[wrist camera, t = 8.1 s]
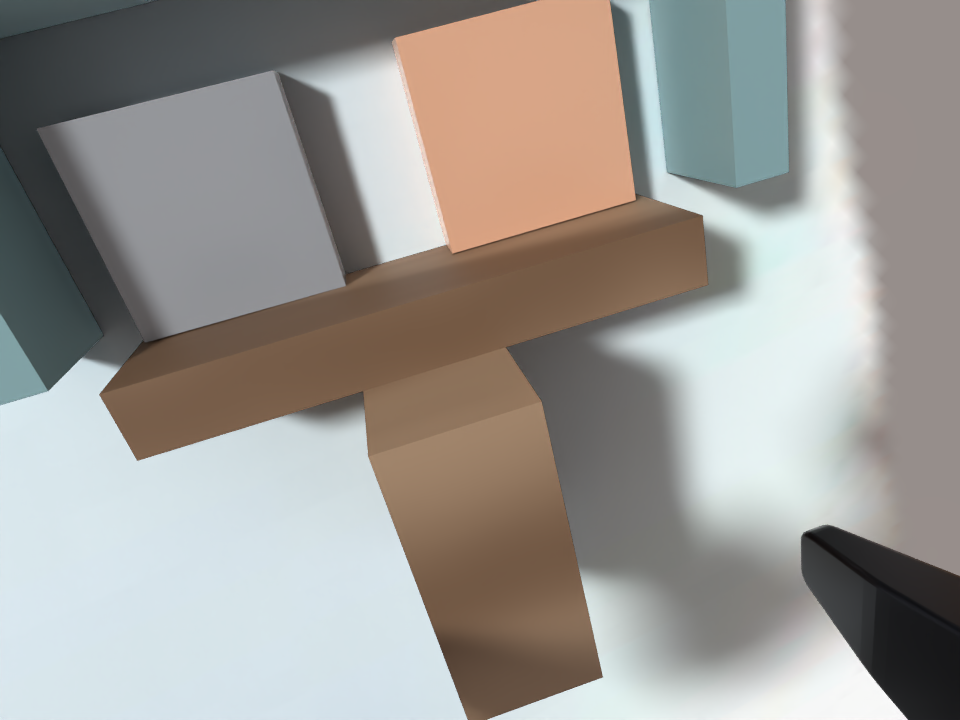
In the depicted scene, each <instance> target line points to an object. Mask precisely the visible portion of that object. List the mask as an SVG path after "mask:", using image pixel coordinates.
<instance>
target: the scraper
mask: <svg viewBox="0 0 960 720" xmlns="http://www.w3.org/2000/svg"><path fill="white" fill-rule="evenodd" d="M635 197H636V200H634V201H631V202H628V203H624V204H621V205H617V206H614V207H611V208H607V209H604V210H600V211H597V212H593V213H590V214H587V215H583V216H580V217H576V218H573V219H569V220H566V221H563V222H559V223H556V224H552V225H549V226H545V227H542V228H539V229H535V230H532V231H528V232H525V233H521V234H518V235H515V236H511V237H508V238H504V239H501V240H497V241H494V242H491V243H487V244H484V245H480V246H477V247H473V248H470V249H467V250H463V251H460V252H456V253H453V254H452V252H451V251H450V249H449V248H448V247H447V245H445V246H441V247H438V248H434V249H431V250H427V251H424V252H421V253H417V254H414V255H410V256H407V257H403V258H400V259H396V260H393V261H389V262H386V263H383V264H379V265H376V266H372V267H369V268H365V269H362V270H358V271H355V272H352V273H348V274H346V286H344V287H341V288H337V289H333V290H330V291H326V292H323V293H319V294H316V295H312V296H309V297H305V298H302V299H298V300H295V301H291V302H287V303H284V304H280V305H277V306H273V307H270V308H266V309H263V310H259V311H256V312H252V313H248V314H245V315H241V316H238V317H234V318H231V319H227V320H224V321H220V322H217V323H213V324H210V325H206V326H202V327H199V328H195V329H192V330H188V331H185V332H181V333H178V334H174V335H171V336H167V337H164V338H160V339H156V340H153V341H149V342H146V343H145V342H144V340H143V341H142V343H141V344H140V345H139V346H138V348H137V349H136V350H135V351H134V352H133V354H132V355H131V356H130V357H129V359H128V360H127V361H126V362H125V364H124V365H123V366H122V367H121V368H120V370H119V371H118V372H117V373H116V375H115V376H114V377H113V378H112V379H111V381H110V382H109V383H108V384H107V386H106V387H105V388H104V389H103V391H102V392H101V393H100V394H99V395H100V397H101V398H102V400H103V402H104V404H105V405H106V407H107V409H108V411H109V412H110V414H111V416H112V417H113V419H114V421H115V423H116V424H117V426H118V428H119V430H120V431H121V433H122V435H123V437H124V438H125V440H126V442H127V444H128V445H129V447H130V449H131V451H132V452H133V454H134V456H135V458H136V459H137V461H138V460H141V459H145V458H148V457H151V456H154V455H158V454H161V453H164V452H167V451H171V450H174V449H177V448H180V447H184V446H187V445H190V444H193V443H197V442H200V441H203V440H206V439H210V438H213V437H216V436H219V435H223V434H226V433H229V432H232V431H236V430H239V429H242V428H245V427H249V426H252V425H255V424H258V423H262V422H265V421H268V420H271V419H275V418H278V417H281V416H284V415H288V414H291V413H294V412H297V411H301V410H304V409H307V408H310V407H314V406H317V405H320V404H323V403H327V402H330V401H333V400H336V399H340V398H343V397H346V396H349V395H353V394H356V393H359V392H362V391H363V395H364V408H365V420H366V433H367V446H368V457H369V460H370V462H371V465H372V468H373V470H374V473H375V476H376V478H377V481H378V484H379V486H380V489H381V491H382V494H383V497H384V499H385V502H386V505H387V507H388V510H389V513H390V515H391V518H392V521H393V523H394V526H395V528H396V531H397V534H398V536H399V539H400V542H401V544H402V547H403V550H404V552H405V555H406V558H407V560H408V563H409V565H410V568H411V571H412V573H413V576H414V579H415V581H416V584H417V587H418V589H419V592H420V595H421V597H422V600H423V602H424V605H425V608H426V610H427V613H428V616H429V618H430V621H431V624H432V626H433V629H434V632H435V634H436V637H437V639H438V642H439V645H440V647H441V650H442V653H443V655H444V658H445V661H446V663H447V666H448V669H449V671H450V674H451V677H452V679H453V682H454V684H455V687H456V690H457V692H458V695H459V698H460V700H461V703H462V706H463V708H464V711H465V714H466V716H467V719H468V720H487V719H490V718H492V717H495V716H498V715H501V714H503V713H506V712H509V711H512V710H514V709H517V708H520V707H523V706H525V705H528V704H531V703H534V702H536V701H539V700H542V699H545V698H547V697H550V696H553V695H555V694H558V693H561V692H564V691H566V690H569V689H572V688H575V687H577V686H580V685H583V684H586V683H588V682H591V681H594V680H597V679H599V678H602V677H603V676H602V671H601V667H600V662H599V658H598V653H597V649H596V644H595V640H594V635H593V631H592V626H591V622H590V617H589V613H588V608H587V604H586V599H585V595H584V590H583V586H582V581H581V577H580V572H579V568H578V563H577V559H576V554H575V550H574V545H573V541H572V536H571V531H570V527H569V522H568V518H567V513H566V509H565V504H564V500H563V495H562V491H561V486H560V482H559V477H558V473H557V468H556V464H555V459H554V455H553V450H552V446H551V441H550V437H549V432H548V428H547V423H546V419H545V414H544V410H543V405H542V401H541V400H540V398H539V397H538V395H537V394H536V392H535V391H534V389H533V388H532V386H531V385H530V383H529V382H528V380H527V379H526V377H525V376H524V374H523V373H522V371H521V370H520V368H519V367H518V365H517V364H516V362H515V361H514V359H513V358H512V356H511V355H510V353H509V352H508V350H507V349H506V347H508V346H512V345H515V344H518V343H521V342H525V341H528V340H531V339H534V338H538V337H541V336H544V335H547V334H551V333H554V332H557V331H560V330H564V329H567V328H570V327H573V326H577V325H580V324H583V323H586V322H590V321H593V320H596V319H599V318H603V317H606V316H609V315H612V314H616V313H619V312H622V311H625V310H629V309H632V308H635V307H638V306H642V305H645V304H648V303H651V302H655V301H658V300H661V299H664V298H668V297H671V296H674V295H677V294H681V293H684V292H687V291H690V290H694V289H697V288H700V287H703V286H707V285H708V276H707V263H706V251H705V238H704V226H703V215H700V214H696V213H693V212H690V211H687V210H684V209H681V208H678V207H675V206H672V205H669V204H666V203H662V202H659V201H656V200H653V199H650V198H647V197H644V196H641V195H638V194H635Z"/></svg>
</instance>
